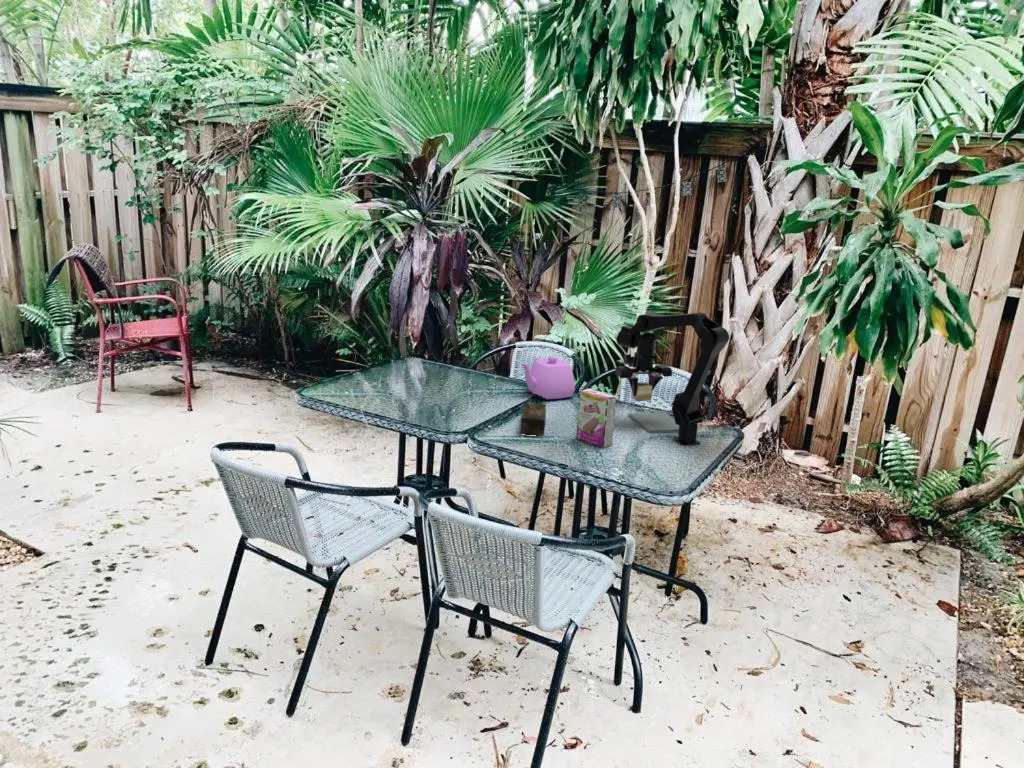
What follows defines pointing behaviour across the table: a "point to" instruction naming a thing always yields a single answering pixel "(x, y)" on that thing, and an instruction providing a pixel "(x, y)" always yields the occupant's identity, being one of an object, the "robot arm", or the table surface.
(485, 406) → the table surface
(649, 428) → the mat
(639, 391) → the lettered cube
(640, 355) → the robot arm
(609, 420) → the candy bar box
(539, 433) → the beverage carton
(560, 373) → the teapot
